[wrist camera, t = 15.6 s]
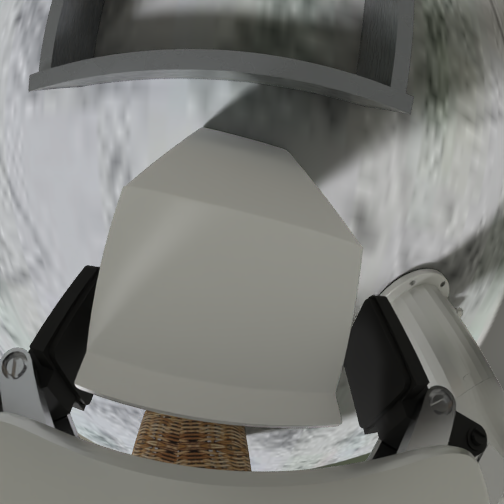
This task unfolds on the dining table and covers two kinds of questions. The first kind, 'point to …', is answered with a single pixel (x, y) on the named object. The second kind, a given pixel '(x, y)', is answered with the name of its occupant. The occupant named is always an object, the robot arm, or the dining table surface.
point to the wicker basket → (192, 443)
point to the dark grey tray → (234, 59)
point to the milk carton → (224, 290)
